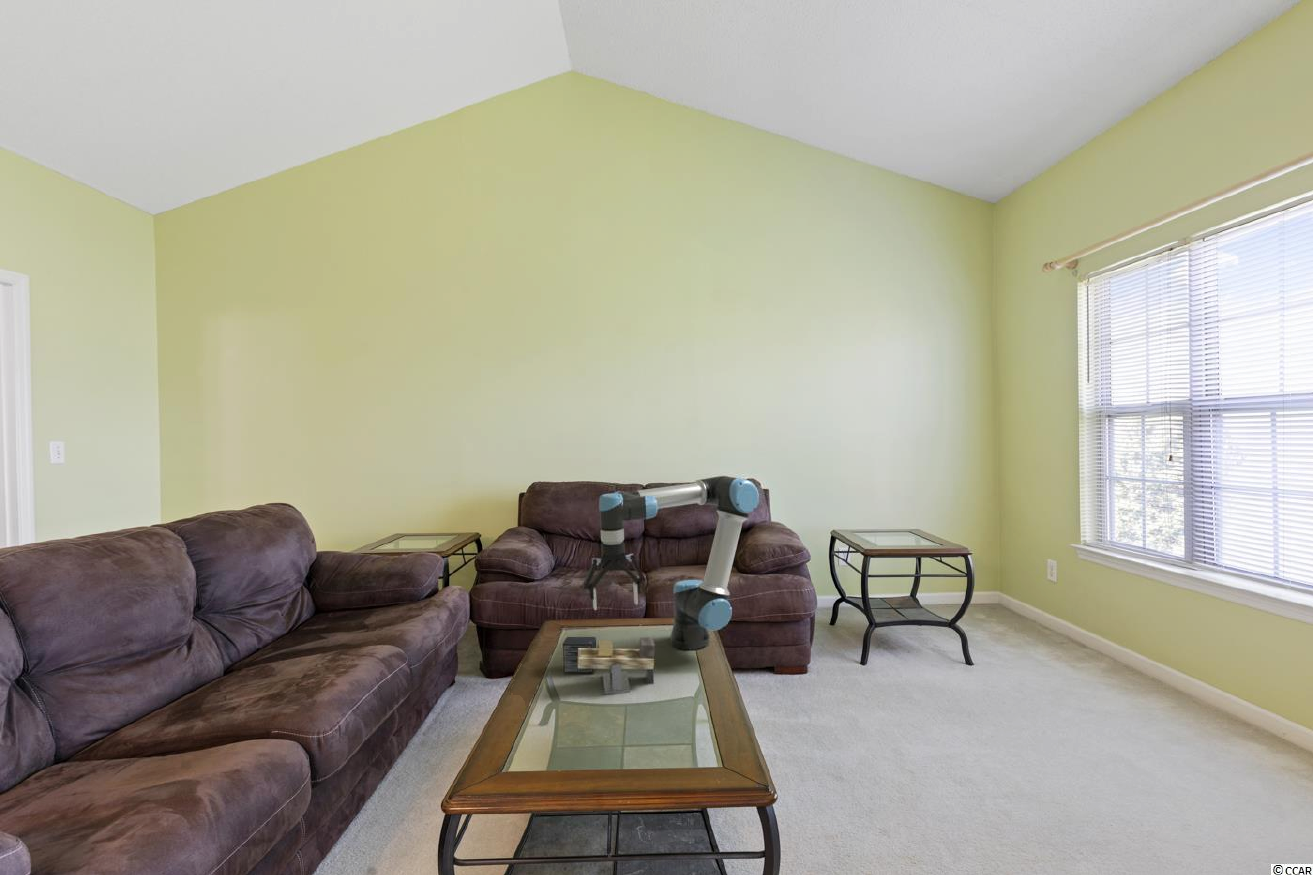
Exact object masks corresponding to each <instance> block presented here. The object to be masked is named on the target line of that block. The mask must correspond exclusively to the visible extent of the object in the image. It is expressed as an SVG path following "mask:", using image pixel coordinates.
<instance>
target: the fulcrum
mask: <svg viewBox="0 0 1313 875" xmlns="http://www.w3.org/2000/svg"><path fill="white" fill-rule="evenodd" d="M615 649H619V648H618V647H617V648H615ZM622 670H623V669H622V667H621V663H618V664H612V669H609V672H606V673H602V675H601V676H602V682H603V689H604V690H603V691H604V695H605V696H606V695H616V694H623V693H624V694H625V693H630V692H631V686H630V683H629V677H628V674H627V670H626V671H622ZM644 670H645V679H646V680H645V681H646V683H647V685H652V684H654V683H655V682H654V676H655V675H654V668H653V669H644Z"/></svg>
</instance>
